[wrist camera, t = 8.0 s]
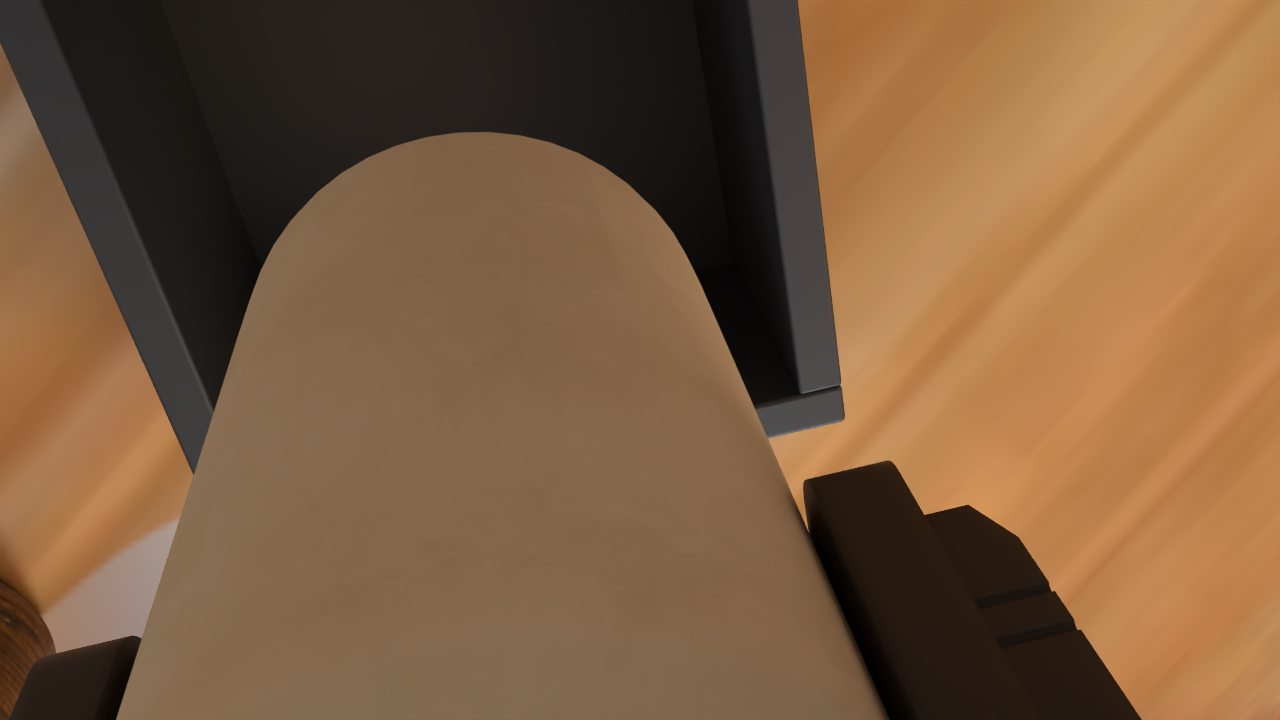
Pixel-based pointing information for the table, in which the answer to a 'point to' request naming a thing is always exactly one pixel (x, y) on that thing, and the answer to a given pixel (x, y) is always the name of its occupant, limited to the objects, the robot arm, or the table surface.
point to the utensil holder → (19, 645)
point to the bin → (414, 109)
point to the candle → (489, 474)
